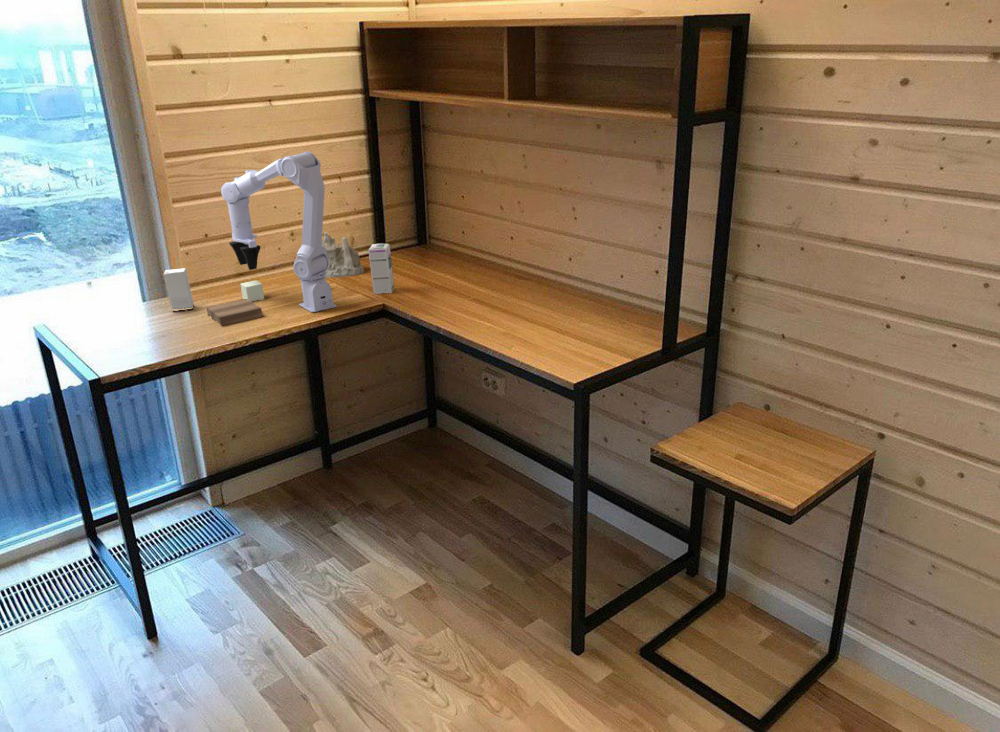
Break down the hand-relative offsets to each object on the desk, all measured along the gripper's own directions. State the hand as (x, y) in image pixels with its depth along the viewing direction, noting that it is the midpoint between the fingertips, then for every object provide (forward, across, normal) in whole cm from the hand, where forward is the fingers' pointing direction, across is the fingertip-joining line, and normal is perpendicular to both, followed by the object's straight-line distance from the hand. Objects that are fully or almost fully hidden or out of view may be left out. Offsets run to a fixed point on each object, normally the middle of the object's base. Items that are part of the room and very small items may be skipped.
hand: (248, 266), depth 242 cm
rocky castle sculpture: (+11, +9, -34) cm, 37 cm away
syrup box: (+10, -22, -34) cm, 41 cm away
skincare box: (+10, +5, +20) cm, 23 cm away
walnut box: (+11, -12, +10) cm, 19 cm away
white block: (+10, 0, 0) cm, 10 cm away
